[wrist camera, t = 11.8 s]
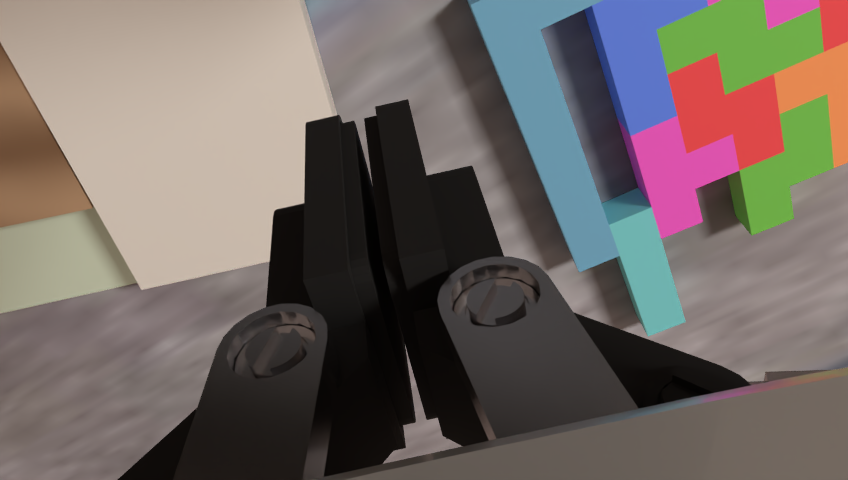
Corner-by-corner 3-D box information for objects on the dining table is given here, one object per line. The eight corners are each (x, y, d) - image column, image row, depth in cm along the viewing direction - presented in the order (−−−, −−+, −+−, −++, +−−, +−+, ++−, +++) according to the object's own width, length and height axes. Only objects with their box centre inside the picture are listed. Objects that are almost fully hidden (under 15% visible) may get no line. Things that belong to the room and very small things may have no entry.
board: (-56, -111, 32) (-81, -99, 30) (252, -182, 32) (248, -174, 30) (149, 264, 45) (141, 289, 43) (366, 215, 45) (368, 239, 43)
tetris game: (461, -13, 38) (599, 324, 54) (470, 5, 36) (611, 350, 52) (1009, -280, 34) (978, 173, 50) (1058, -279, 31) (1009, 195, 48)
